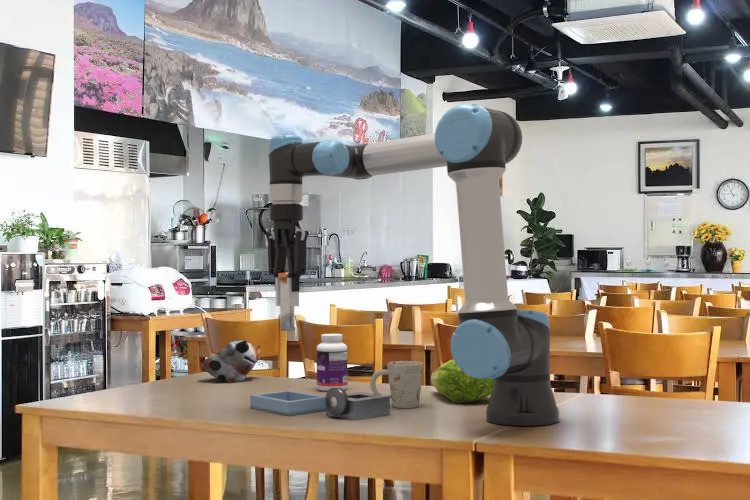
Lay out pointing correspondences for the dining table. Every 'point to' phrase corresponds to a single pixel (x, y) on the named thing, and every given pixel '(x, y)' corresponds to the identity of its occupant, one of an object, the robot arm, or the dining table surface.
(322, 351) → the pill bottle
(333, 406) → the block
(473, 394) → the lettuce
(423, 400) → the dining table surface
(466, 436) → the dining table surface
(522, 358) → the robot arm
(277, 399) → the tray
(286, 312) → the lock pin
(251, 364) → the lucky cat figurine
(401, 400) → the mug
